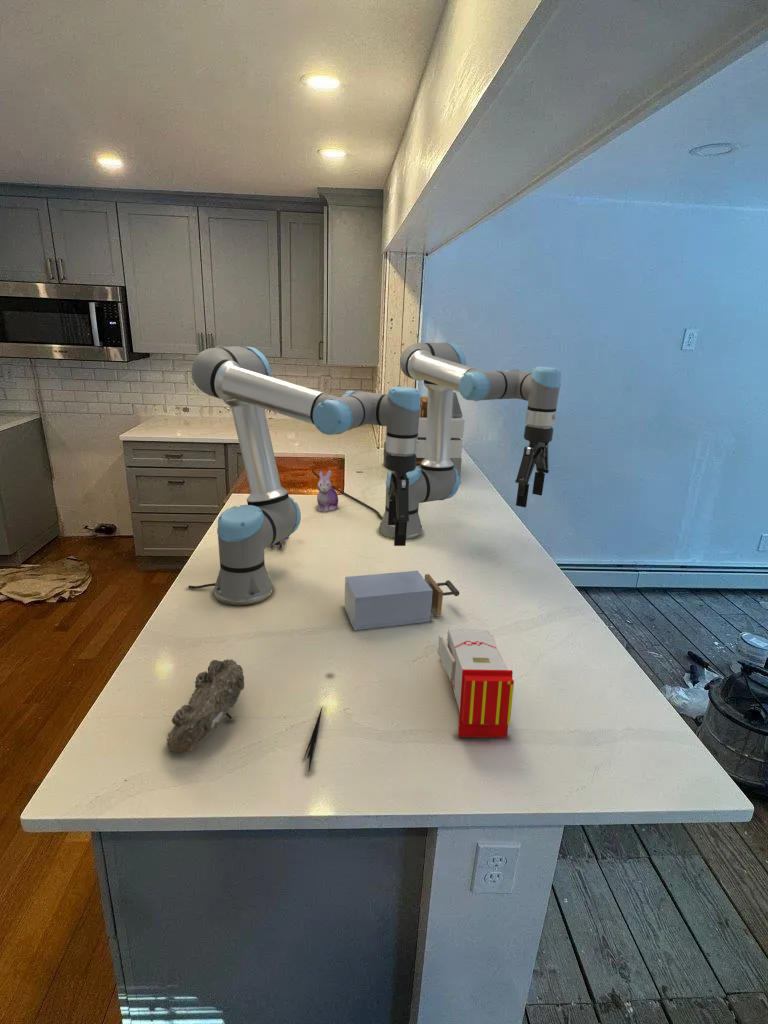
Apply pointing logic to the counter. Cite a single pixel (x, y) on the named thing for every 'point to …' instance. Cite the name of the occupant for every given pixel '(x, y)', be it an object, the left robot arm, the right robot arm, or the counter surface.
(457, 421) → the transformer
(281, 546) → the figurine character
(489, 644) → the toy
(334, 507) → the figurine
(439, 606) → the drawer
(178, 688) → the counter surface
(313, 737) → the feather
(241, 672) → the fossil
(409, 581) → the cabinet
